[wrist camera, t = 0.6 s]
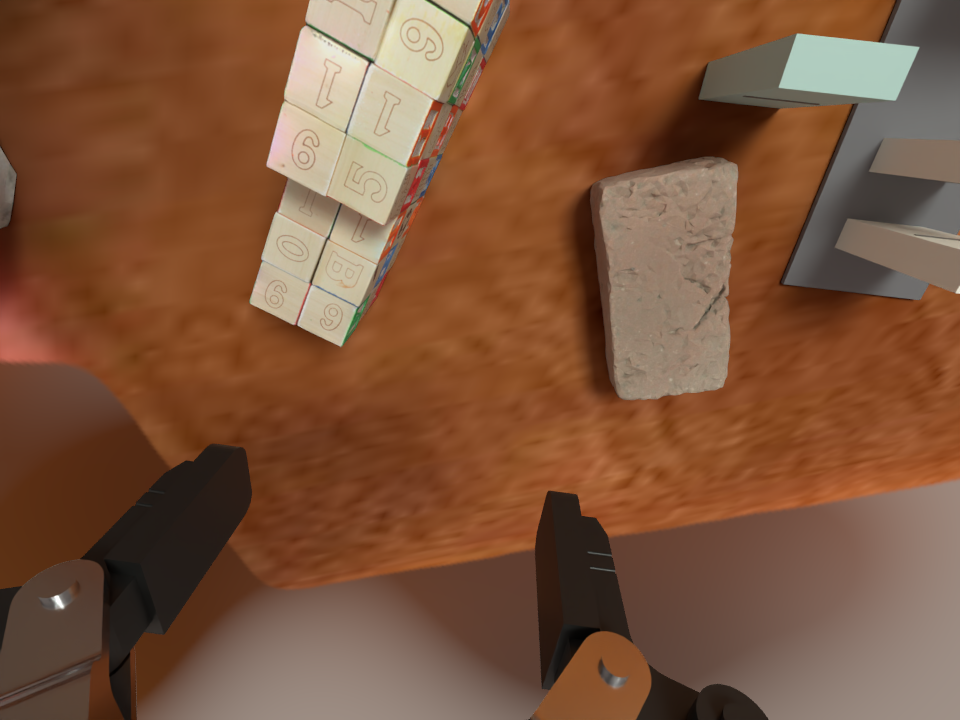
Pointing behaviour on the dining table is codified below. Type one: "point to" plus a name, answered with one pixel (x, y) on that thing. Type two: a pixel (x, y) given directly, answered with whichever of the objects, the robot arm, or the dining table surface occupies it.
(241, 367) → the dining table surface
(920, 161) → the tile
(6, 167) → the ceramic pitcher
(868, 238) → the tile
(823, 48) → the teal tile
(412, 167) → the stack of blocks
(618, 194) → the brick
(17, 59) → the dining table surface
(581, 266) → the dining table surface
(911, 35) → the runner
